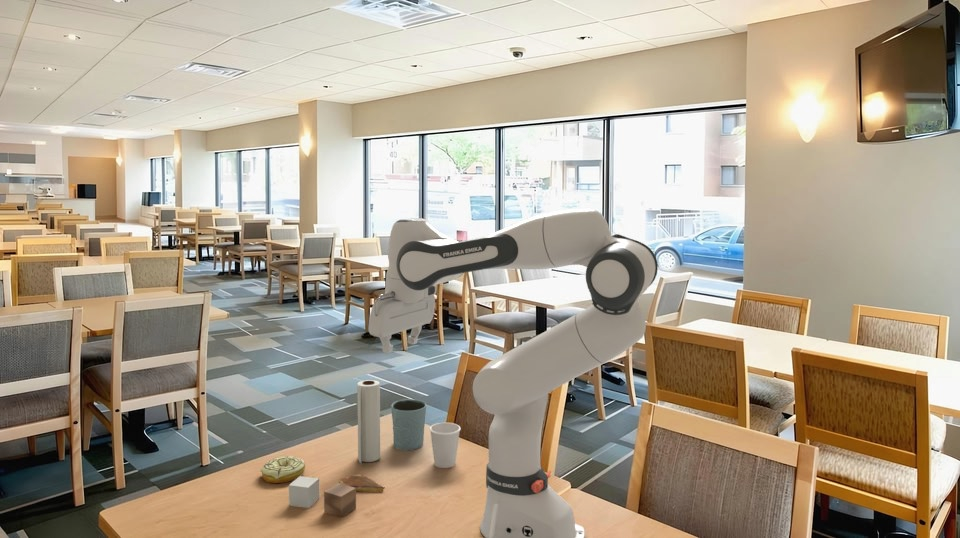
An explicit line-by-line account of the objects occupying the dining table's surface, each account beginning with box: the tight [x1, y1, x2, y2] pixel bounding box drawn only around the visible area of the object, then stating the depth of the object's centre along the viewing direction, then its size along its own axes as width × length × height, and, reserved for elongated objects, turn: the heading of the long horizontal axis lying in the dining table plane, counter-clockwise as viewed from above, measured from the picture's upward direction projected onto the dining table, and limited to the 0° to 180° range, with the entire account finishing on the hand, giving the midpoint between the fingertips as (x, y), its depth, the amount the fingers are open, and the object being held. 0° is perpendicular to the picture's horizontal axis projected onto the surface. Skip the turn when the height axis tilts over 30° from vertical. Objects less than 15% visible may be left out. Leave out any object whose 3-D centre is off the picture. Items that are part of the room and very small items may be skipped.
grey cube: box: [288, 475, 320, 509], centre depth 150 cm, size 5×5×5 cm
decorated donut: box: [260, 455, 306, 484], centre depth 164 cm, size 10×11×4 cm
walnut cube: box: [323, 482, 357, 518], centre depth 146 cm, size 5×5×5 cm
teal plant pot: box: [390, 398, 427, 451], centre depth 185 cm, size 10×10×12 cm
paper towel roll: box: [356, 379, 381, 464], centre depth 174 cm, size 7×6×21 cm
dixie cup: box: [429, 422, 462, 469], centre depth 172 cm, size 8×8×10 cm
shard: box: [338, 474, 386, 493], centre depth 157 cm, size 11×8×2 cm
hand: (400, 348), depth 146 cm, fingers open, 8 cm apart
